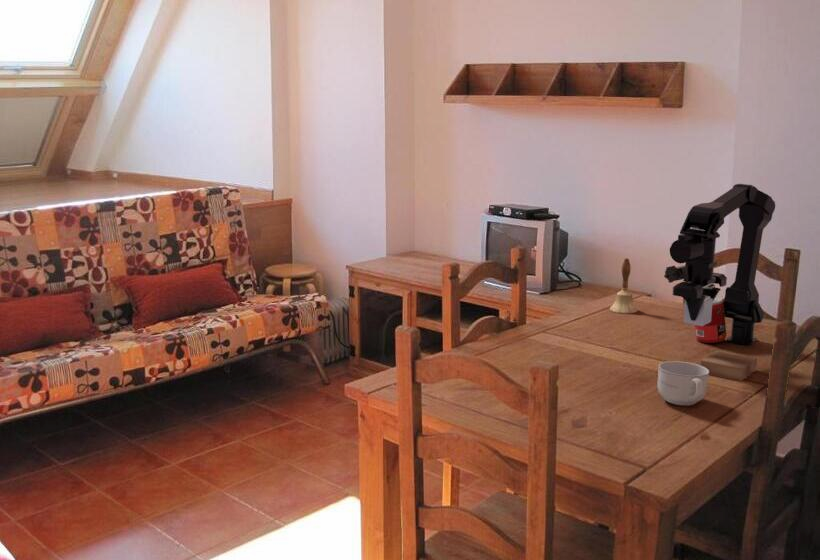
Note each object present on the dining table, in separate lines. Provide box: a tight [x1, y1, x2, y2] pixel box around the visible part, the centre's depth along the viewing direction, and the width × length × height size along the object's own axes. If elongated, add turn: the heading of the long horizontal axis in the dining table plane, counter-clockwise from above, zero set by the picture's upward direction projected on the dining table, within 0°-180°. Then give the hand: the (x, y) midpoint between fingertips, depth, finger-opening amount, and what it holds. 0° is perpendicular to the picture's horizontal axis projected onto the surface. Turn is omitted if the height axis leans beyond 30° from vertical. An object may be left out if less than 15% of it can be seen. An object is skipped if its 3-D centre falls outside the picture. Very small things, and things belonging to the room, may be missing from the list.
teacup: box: [656, 360, 710, 406], centre depth 200 cm, size 14×11×8 cm
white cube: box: [683, 295, 713, 326], centre depth 226 cm, size 5×5×7 cm
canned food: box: [693, 295, 727, 344], centre depth 243 cm, size 8×8×11 cm
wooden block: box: [700, 349, 758, 382], centre depth 221 cm, size 10×10×4 cm
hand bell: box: [609, 258, 639, 315], centre depth 273 cm, size 8×8×16 cm
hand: (697, 318), depth 227 cm, fingers closed on white cube, 5 cm apart
